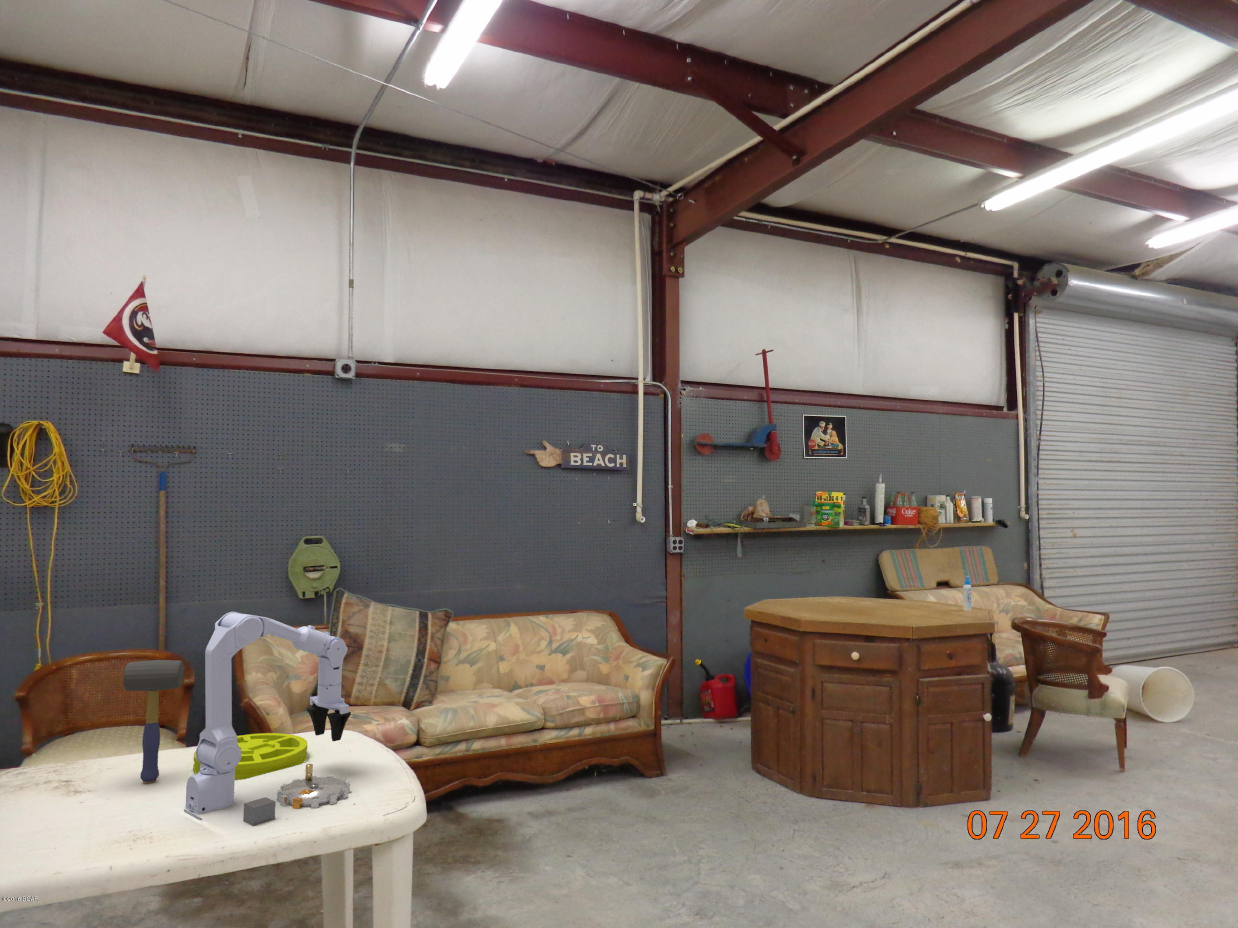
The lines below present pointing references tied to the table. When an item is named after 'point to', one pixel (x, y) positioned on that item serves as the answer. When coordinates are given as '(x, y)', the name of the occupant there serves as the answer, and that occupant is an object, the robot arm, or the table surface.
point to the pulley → (266, 754)
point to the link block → (259, 811)
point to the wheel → (313, 790)
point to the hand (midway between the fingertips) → (327, 737)
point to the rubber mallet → (152, 703)
